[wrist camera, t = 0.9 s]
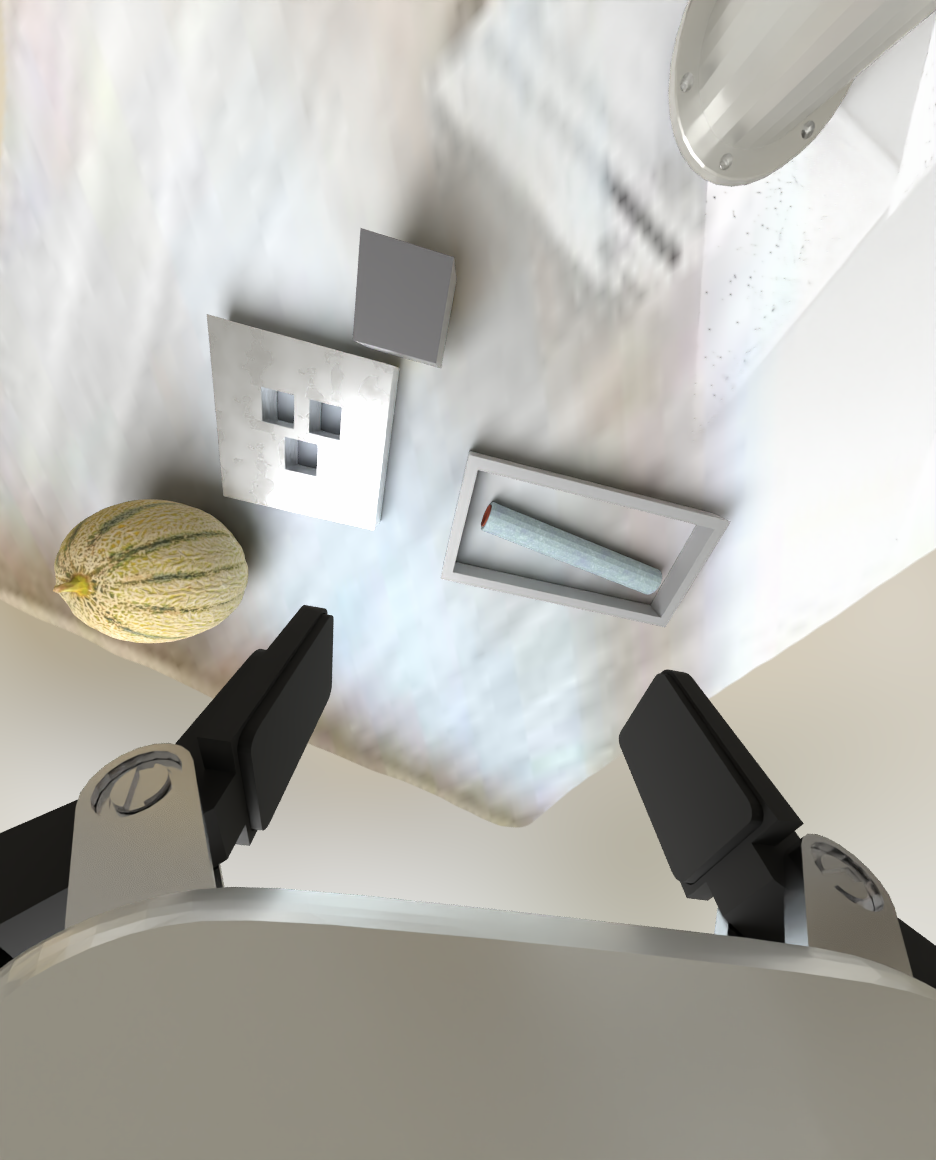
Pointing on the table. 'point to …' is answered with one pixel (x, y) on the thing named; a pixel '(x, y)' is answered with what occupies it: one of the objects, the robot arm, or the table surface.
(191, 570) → the cantaloupe
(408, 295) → the plug
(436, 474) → the table surface
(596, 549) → the aluminum foil
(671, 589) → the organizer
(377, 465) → the socket
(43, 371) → the table surface
